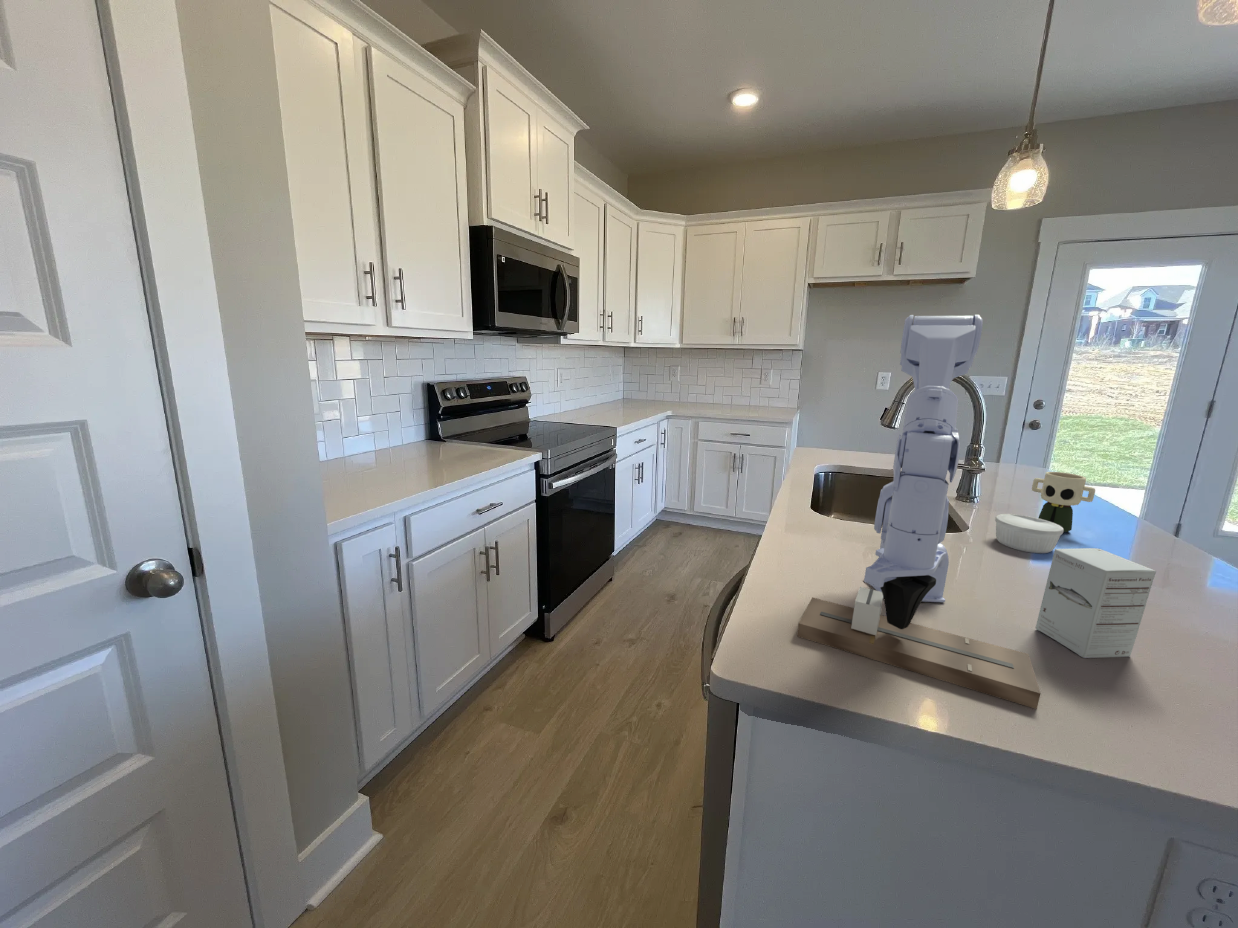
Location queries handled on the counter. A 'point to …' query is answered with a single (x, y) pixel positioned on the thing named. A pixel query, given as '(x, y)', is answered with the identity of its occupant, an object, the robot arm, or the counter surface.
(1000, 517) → the ramekin
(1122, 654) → the supplement box
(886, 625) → the fader board
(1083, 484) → the character mug
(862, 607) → the fader knob
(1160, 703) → the counter surface
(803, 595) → the counter surface
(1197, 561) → the counter surface
